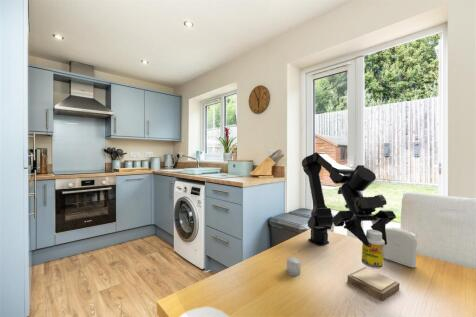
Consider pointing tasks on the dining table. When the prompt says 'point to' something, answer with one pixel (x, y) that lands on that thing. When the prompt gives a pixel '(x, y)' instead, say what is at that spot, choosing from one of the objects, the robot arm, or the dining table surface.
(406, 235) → the photo printer
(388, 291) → the tan flat square block
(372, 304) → the dining table surface
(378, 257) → the supplement bottle
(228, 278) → the dining table surface
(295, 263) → the white rounded knob
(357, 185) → the robot arm
